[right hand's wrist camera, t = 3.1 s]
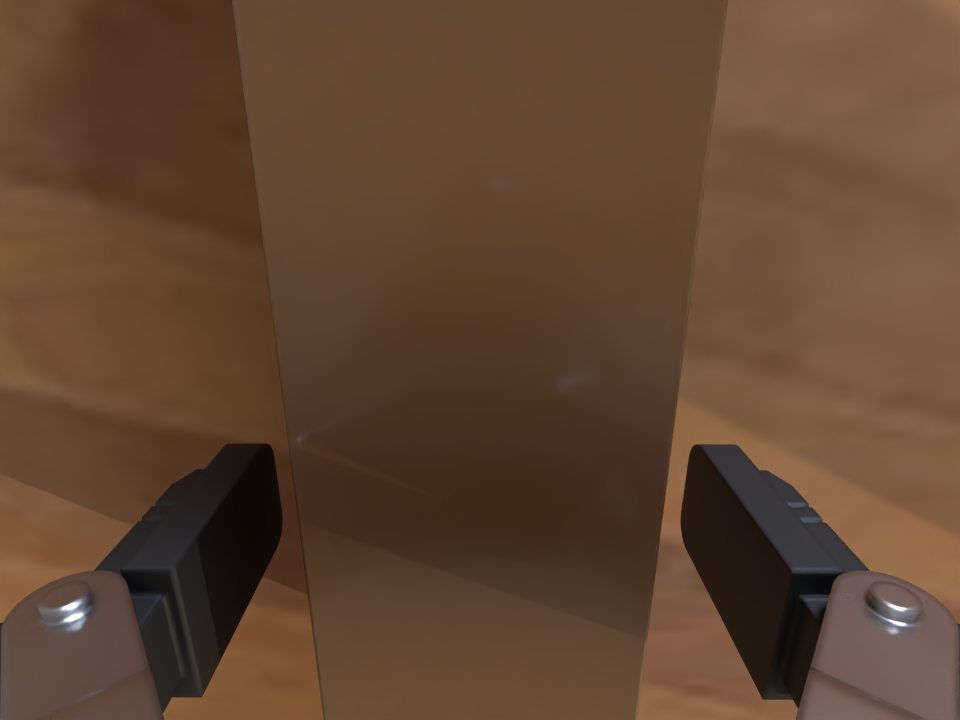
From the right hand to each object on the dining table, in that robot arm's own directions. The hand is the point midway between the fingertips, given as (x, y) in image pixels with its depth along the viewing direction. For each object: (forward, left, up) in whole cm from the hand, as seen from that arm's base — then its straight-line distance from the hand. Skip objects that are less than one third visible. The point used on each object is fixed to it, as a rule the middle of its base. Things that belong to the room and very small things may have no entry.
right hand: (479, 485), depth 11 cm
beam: (-3, -26, -3) cm, 27 cm away
